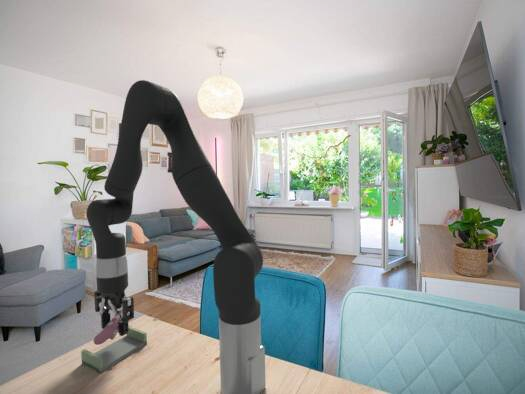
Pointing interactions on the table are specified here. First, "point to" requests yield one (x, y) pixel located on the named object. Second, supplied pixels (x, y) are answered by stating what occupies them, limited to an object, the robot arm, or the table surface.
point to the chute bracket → (114, 351)
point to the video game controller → (108, 331)
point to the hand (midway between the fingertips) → (114, 330)
